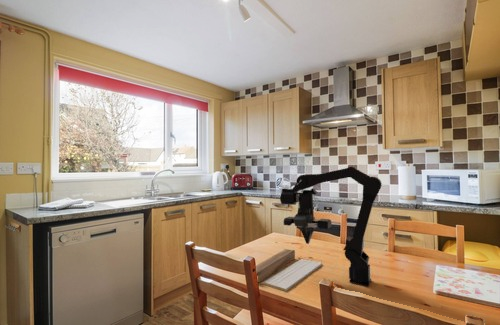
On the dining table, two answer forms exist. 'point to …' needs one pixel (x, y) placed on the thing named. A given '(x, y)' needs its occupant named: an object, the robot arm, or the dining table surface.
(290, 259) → the walnut plank
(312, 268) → the baseboard molding
